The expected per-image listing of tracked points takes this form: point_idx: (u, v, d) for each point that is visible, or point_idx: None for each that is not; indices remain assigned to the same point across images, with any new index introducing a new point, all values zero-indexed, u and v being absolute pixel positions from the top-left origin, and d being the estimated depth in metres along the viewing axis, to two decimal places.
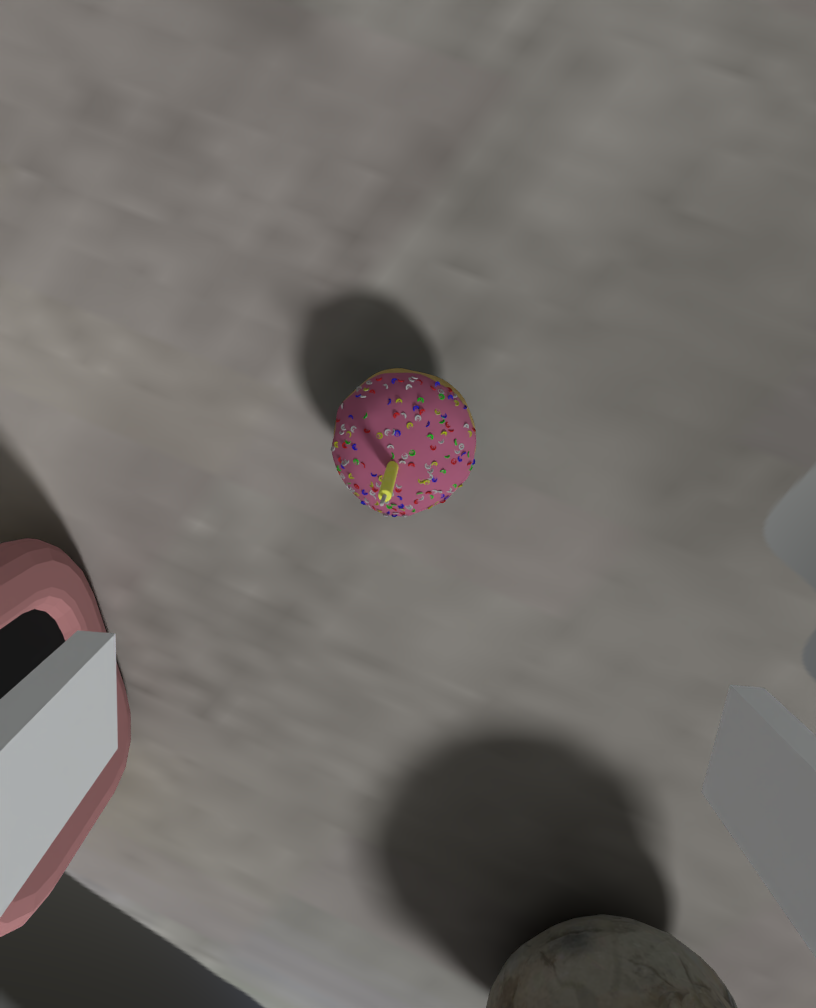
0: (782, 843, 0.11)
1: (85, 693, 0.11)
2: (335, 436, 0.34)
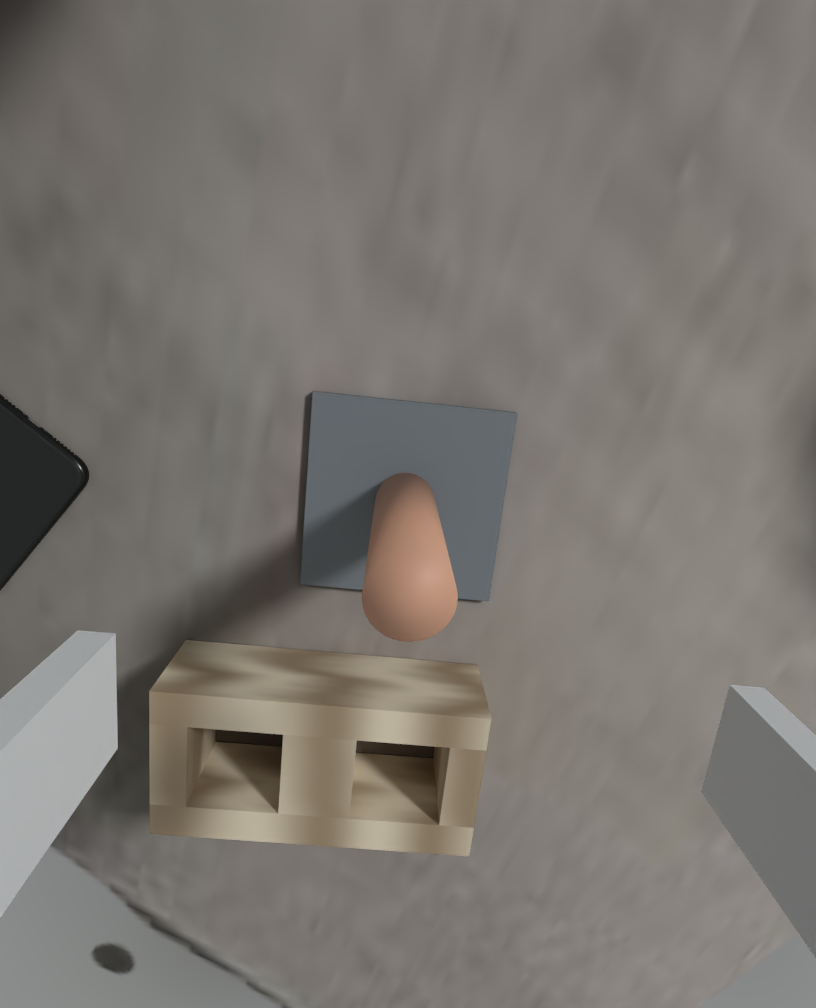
0: (781, 843, 0.11)
1: (85, 693, 0.11)
2: None
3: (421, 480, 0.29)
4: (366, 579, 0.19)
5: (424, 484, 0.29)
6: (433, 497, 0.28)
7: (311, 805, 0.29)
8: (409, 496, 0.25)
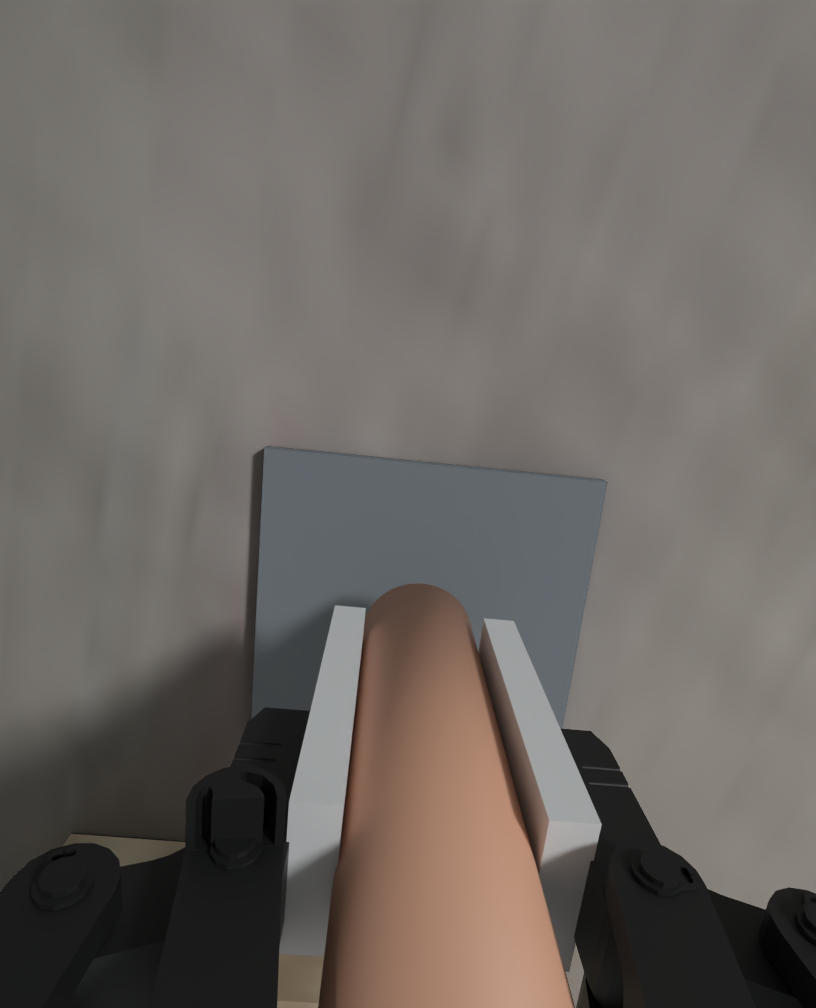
0: None
1: None
2: None
3: (448, 602, 0.15)
4: None
5: (455, 613, 0.15)
6: (474, 643, 0.15)
7: None
8: (432, 681, 0.11)
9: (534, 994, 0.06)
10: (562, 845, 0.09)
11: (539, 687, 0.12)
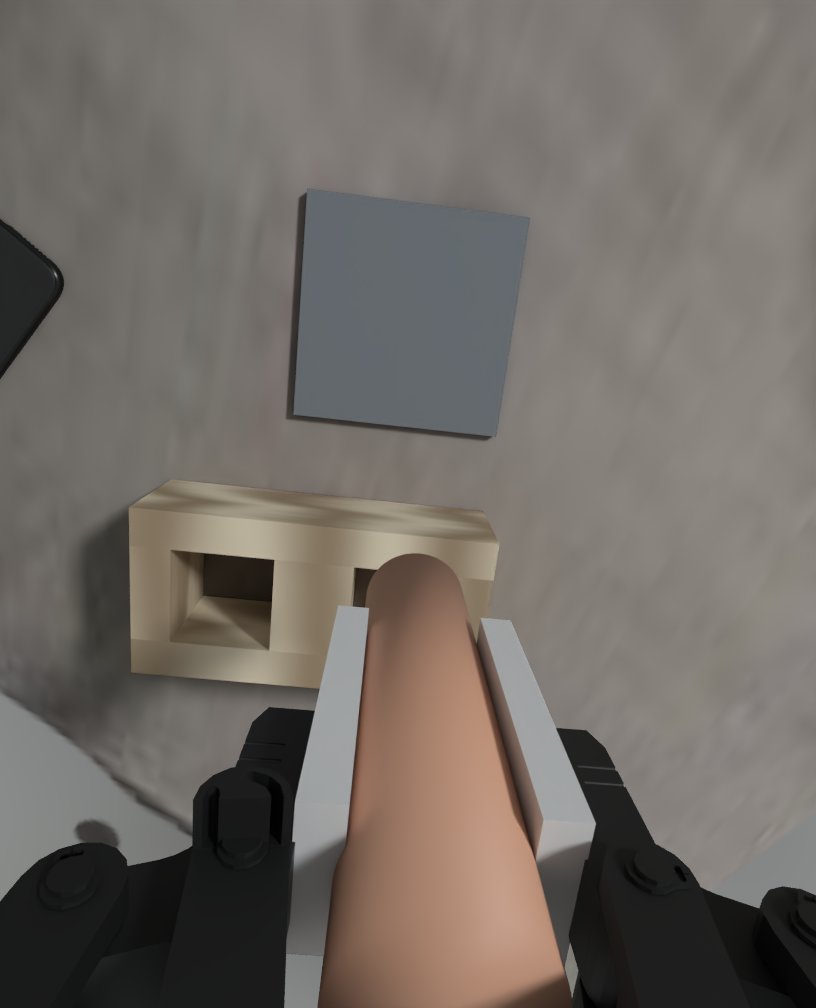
0: None
1: None
2: None
3: (442, 569, 0.18)
4: (328, 973, 0.07)
5: (448, 577, 0.17)
6: (464, 602, 0.17)
7: (305, 641, 0.27)
8: (426, 625, 0.14)
9: (497, 821, 0.08)
10: (556, 844, 0.09)
11: (535, 686, 0.12)
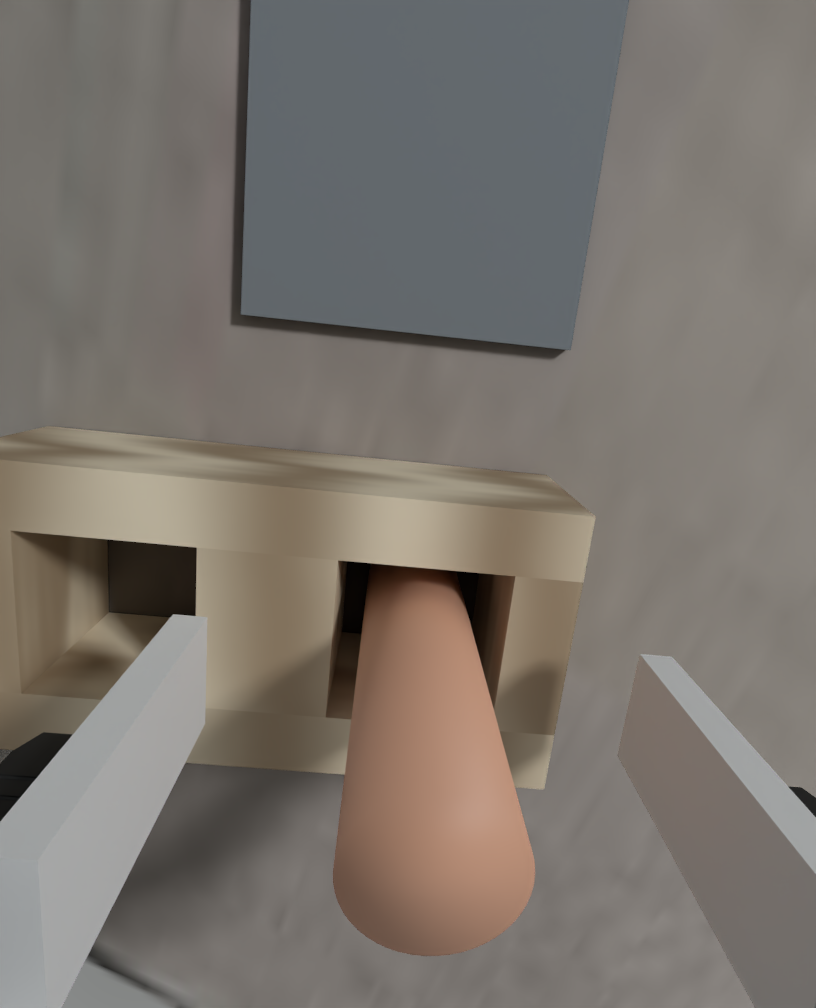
0: (672, 794, 0.12)
1: (188, 670, 0.12)
2: None
3: None
4: (342, 842, 0.09)
5: None
6: (456, 578, 0.19)
7: (256, 690, 0.16)
8: (422, 593, 0.15)
9: (478, 736, 0.10)
10: None
11: (742, 738, 0.11)
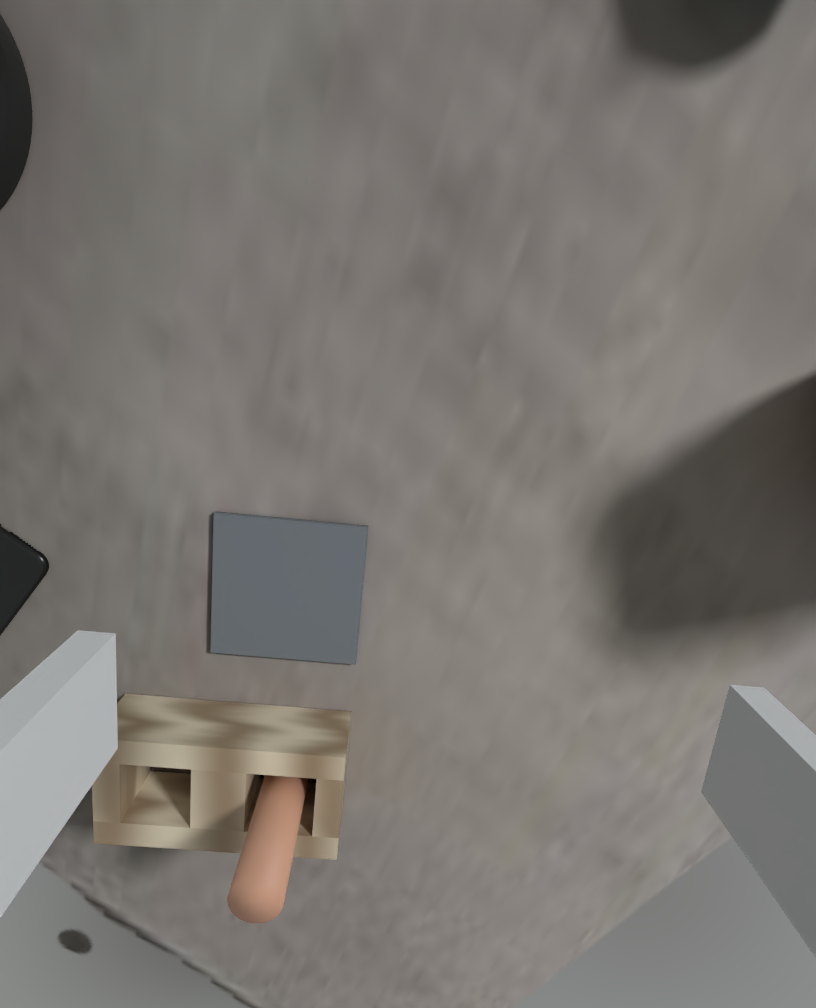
0: (781, 843, 0.11)
1: (85, 693, 0.11)
2: None
3: None
4: (229, 891, 0.32)
5: None
6: None
7: (215, 821, 0.39)
8: (280, 784, 0.39)
9: (275, 857, 0.34)
10: None
11: None
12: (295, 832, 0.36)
